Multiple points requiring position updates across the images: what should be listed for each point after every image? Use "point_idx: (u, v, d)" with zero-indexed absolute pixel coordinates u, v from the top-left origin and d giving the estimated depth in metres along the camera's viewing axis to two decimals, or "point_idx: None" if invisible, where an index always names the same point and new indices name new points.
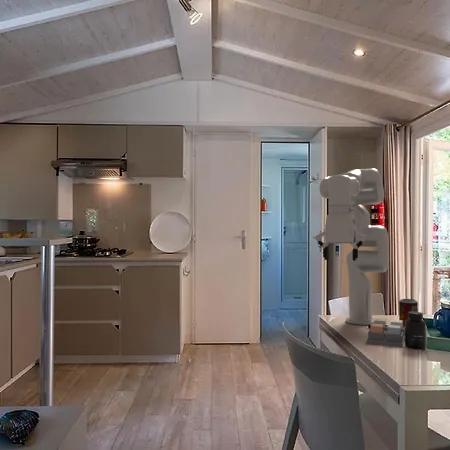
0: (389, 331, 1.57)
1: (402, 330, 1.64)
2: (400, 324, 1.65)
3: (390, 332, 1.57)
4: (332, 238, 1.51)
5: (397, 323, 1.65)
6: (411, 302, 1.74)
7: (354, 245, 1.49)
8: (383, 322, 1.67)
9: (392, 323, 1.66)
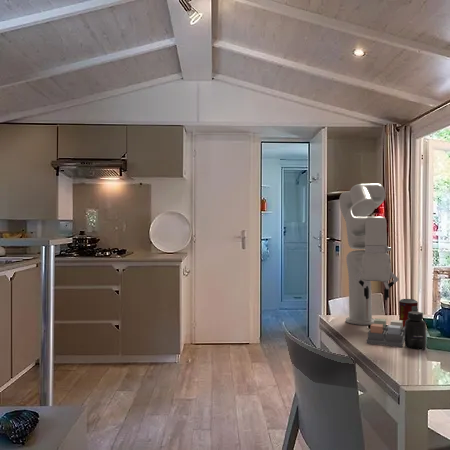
0: (389, 331, 1.57)
1: (402, 330, 1.64)
2: (400, 324, 1.65)
3: (390, 332, 1.57)
4: (369, 276, 1.60)
5: (397, 323, 1.65)
6: (411, 302, 1.74)
7: (386, 286, 1.58)
8: (383, 322, 1.67)
9: (392, 323, 1.66)
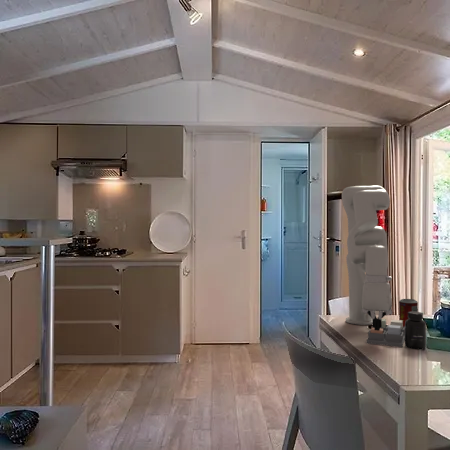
0: (389, 331, 1.57)
1: (402, 330, 1.64)
2: (400, 324, 1.65)
3: (390, 332, 1.57)
4: (369, 306, 1.60)
5: (397, 323, 1.65)
6: (411, 302, 1.74)
7: (378, 316, 1.59)
8: (383, 322, 1.67)
9: (392, 323, 1.66)
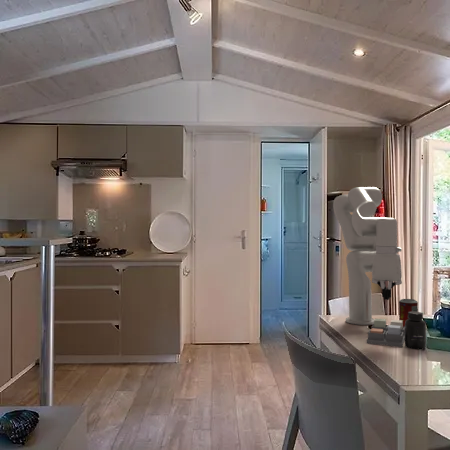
0: (389, 331, 1.57)
1: (402, 330, 1.64)
2: (400, 324, 1.65)
3: (390, 332, 1.57)
4: (379, 276, 1.64)
5: (397, 323, 1.65)
6: (411, 302, 1.74)
7: (388, 286, 1.63)
8: (383, 322, 1.67)
9: (392, 323, 1.66)
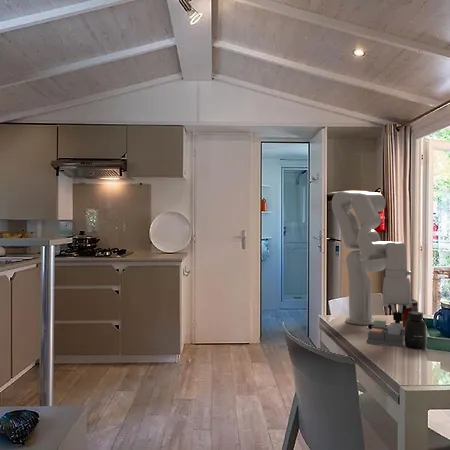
0: (389, 331, 1.57)
1: (402, 330, 1.64)
2: (400, 325, 1.65)
3: (390, 332, 1.57)
4: (390, 299, 1.66)
5: (397, 324, 1.65)
6: None
7: (399, 309, 1.65)
8: (383, 322, 1.67)
9: (392, 324, 1.66)
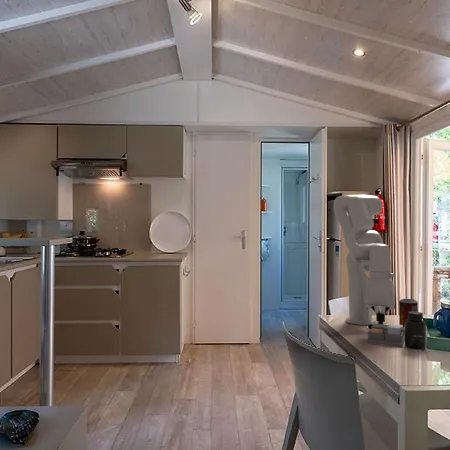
0: (389, 331, 1.57)
1: (402, 330, 1.64)
2: None
3: (390, 332, 1.57)
4: (373, 301, 1.68)
5: None
6: (411, 302, 1.74)
7: (382, 310, 1.68)
8: (383, 325, 1.67)
9: None
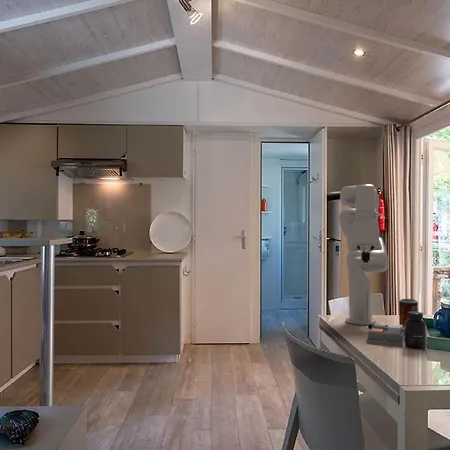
0: (389, 331, 1.57)
1: (402, 330, 1.64)
2: None
3: (390, 332, 1.57)
4: (359, 240, 1.71)
5: None
6: (411, 302, 1.74)
7: (367, 249, 1.71)
8: (383, 327, 1.67)
9: None
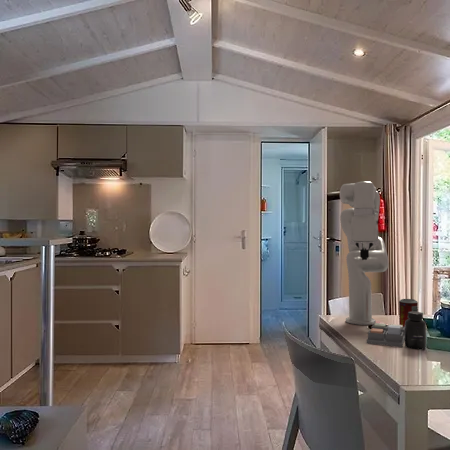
0: (389, 331, 1.57)
1: (402, 330, 1.64)
2: None
3: (390, 332, 1.57)
4: (357, 237, 1.71)
5: None
6: (411, 302, 1.74)
7: (365, 246, 1.71)
8: (383, 327, 1.67)
9: None
